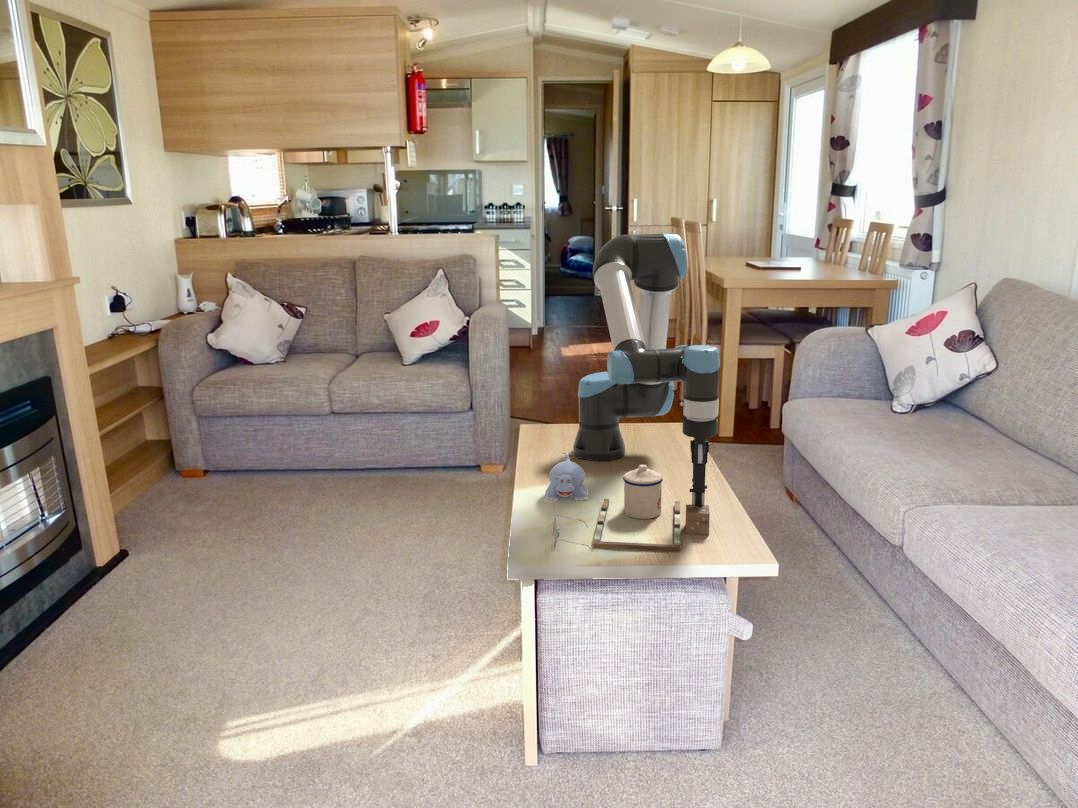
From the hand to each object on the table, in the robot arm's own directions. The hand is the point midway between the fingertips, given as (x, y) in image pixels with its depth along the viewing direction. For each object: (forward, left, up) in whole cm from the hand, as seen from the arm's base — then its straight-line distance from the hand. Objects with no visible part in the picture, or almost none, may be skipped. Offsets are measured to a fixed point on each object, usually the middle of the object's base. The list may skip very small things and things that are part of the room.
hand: (697, 517), depth 179 cm
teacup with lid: (-7, -13, -2) cm, 15 cm away
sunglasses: (+11, -27, -2) cm, 30 cm away
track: (+1, -13, -2) cm, 13 cm away
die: (+3, 0, -2) cm, 4 cm away
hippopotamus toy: (-13, -32, -2) cm, 35 cm away
